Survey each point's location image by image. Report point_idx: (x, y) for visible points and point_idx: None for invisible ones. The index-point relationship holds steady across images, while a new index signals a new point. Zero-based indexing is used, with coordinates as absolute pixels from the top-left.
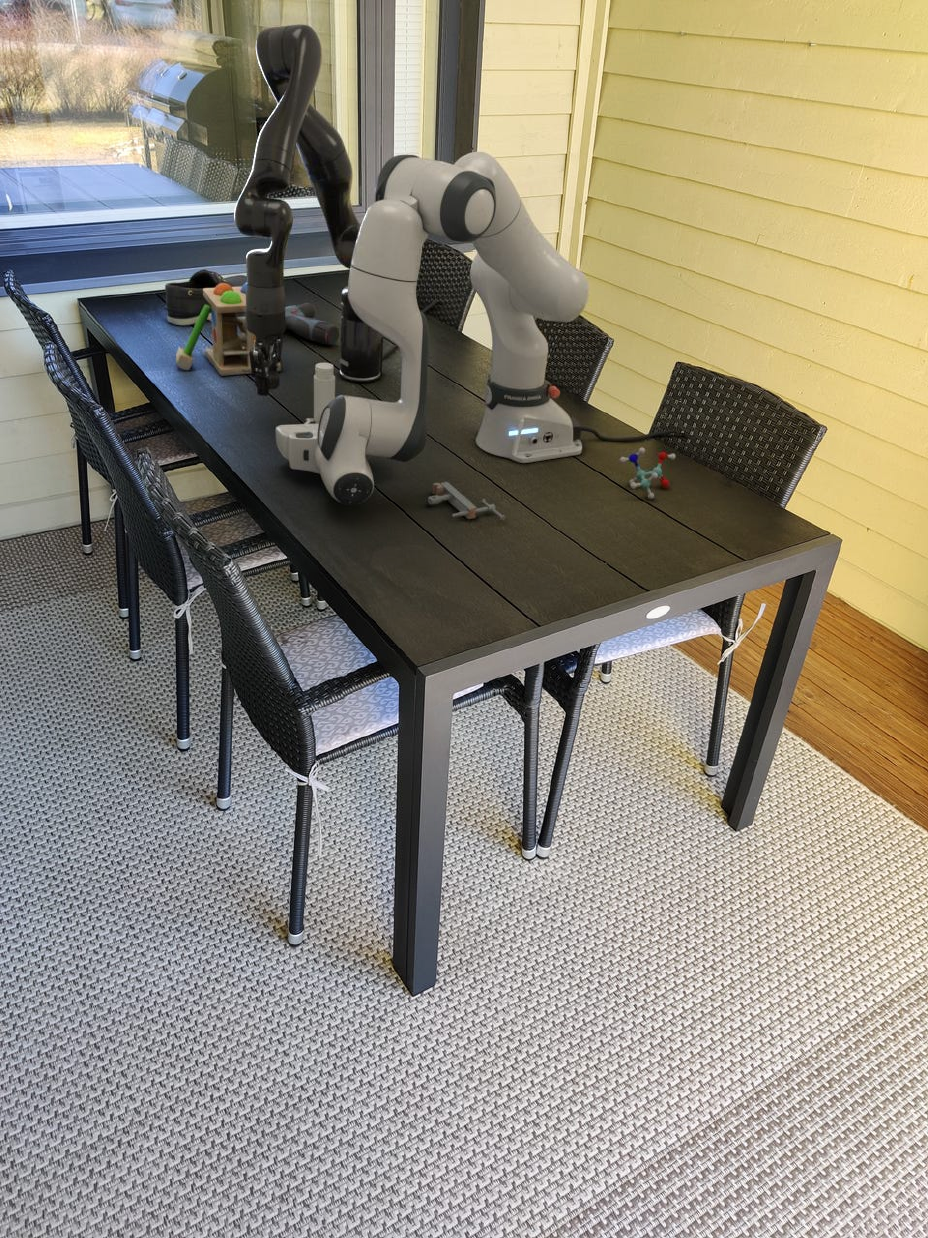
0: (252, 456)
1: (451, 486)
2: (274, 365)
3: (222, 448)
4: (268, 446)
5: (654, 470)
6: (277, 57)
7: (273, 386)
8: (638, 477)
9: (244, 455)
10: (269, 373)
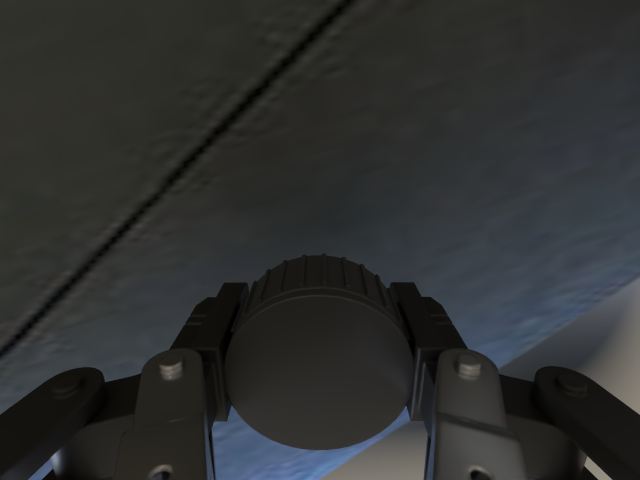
0: (615, 196)
1: None
2: (205, 386)
3: (555, 308)
4: (516, 168)
5: None
6: None
7: (373, 280)
8: None
9: (607, 226)
10: (293, 368)
